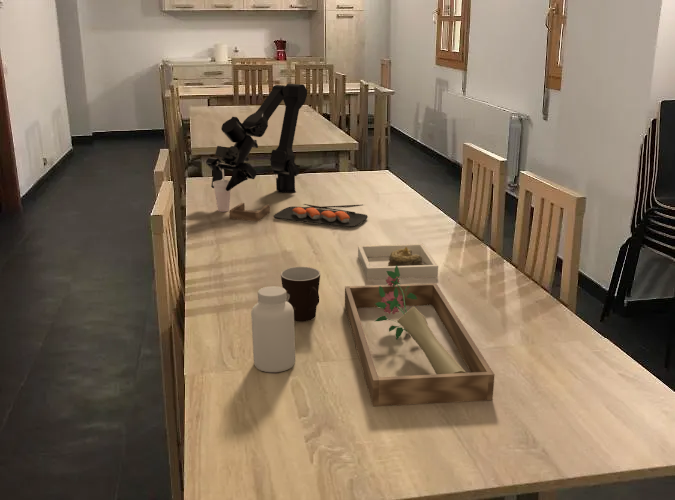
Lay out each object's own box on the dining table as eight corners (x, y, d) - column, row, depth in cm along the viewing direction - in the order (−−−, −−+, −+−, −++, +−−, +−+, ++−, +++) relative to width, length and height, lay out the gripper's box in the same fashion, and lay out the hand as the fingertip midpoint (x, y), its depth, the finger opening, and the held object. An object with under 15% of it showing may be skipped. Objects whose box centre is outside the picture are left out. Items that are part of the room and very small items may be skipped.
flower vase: (431, 427, 129) (361, 315, 157) (491, 400, 131) (411, 294, 159) (422, 383, 122) (350, 274, 150) (485, 355, 124) (403, 253, 152)
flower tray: (435, 303, 164) (436, 283, 162) (492, 399, 124) (494, 374, 122) (344, 306, 162) (344, 286, 160) (372, 406, 122) (373, 380, 120)
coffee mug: (281, 308, 161) (280, 267, 158) (319, 307, 162) (319, 266, 159) (282, 330, 150) (280, 286, 147) (322, 329, 151) (322, 285, 148)
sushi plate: (270, 222, 228) (269, 210, 227) (308, 200, 255) (308, 189, 253) (354, 232, 218) (354, 220, 217) (385, 208, 244) (386, 197, 243)
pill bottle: (271, 350, 141) (269, 280, 137) (303, 361, 137) (302, 289, 132) (244, 366, 135) (241, 293, 130) (277, 378, 131) (275, 302, 126)
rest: (241, 210, 239) (241, 202, 238) (269, 213, 236) (269, 204, 235) (229, 218, 230) (229, 210, 229) (258, 221, 227) (258, 212, 226)
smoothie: (229, 213, 236) (227, 171, 231) (211, 212, 237) (208, 170, 233) (235, 208, 242) (233, 167, 237) (217, 207, 243) (215, 166, 239)
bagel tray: (422, 254, 197) (422, 243, 196) (437, 277, 180) (438, 266, 179) (357, 256, 195) (358, 245, 194) (367, 279, 178) (367, 268, 177)
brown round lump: (400, 277, 182) (399, 257, 181) (380, 265, 191) (379, 246, 189) (432, 267, 187) (431, 248, 185) (411, 257, 195) (410, 238, 193)
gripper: (207, 133, 240) (185, 171, 235) (249, 139, 230) (227, 179, 225) (225, 153, 248) (204, 190, 244) (266, 159, 238) (245, 198, 233)
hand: (219, 188), depth 236 cm, fingers closed on smoothie, 6 cm apart
